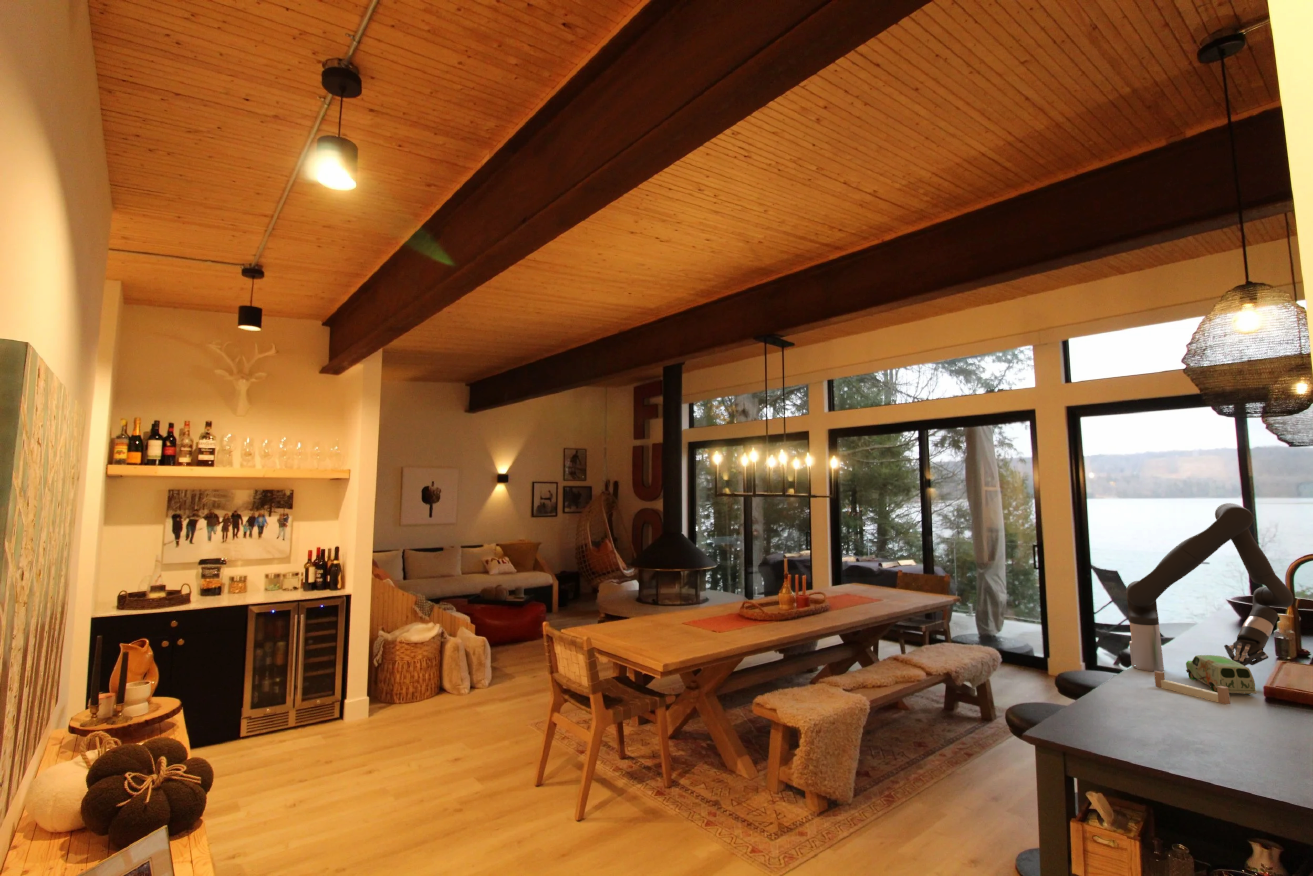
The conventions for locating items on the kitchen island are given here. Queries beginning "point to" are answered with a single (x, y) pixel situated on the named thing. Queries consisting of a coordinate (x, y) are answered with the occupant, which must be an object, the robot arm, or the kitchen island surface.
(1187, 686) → the rail
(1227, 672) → the toy car
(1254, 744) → the kitchen island surface
